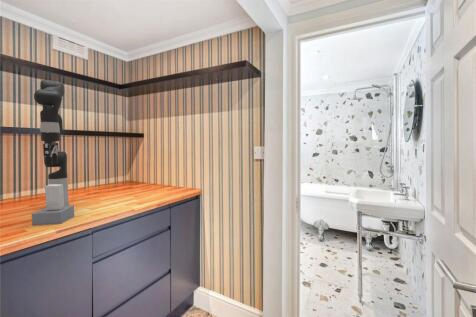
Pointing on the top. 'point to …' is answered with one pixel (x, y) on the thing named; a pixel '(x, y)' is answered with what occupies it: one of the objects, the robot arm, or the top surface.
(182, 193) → the top surface
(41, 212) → the grey block
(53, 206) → the skincare box
